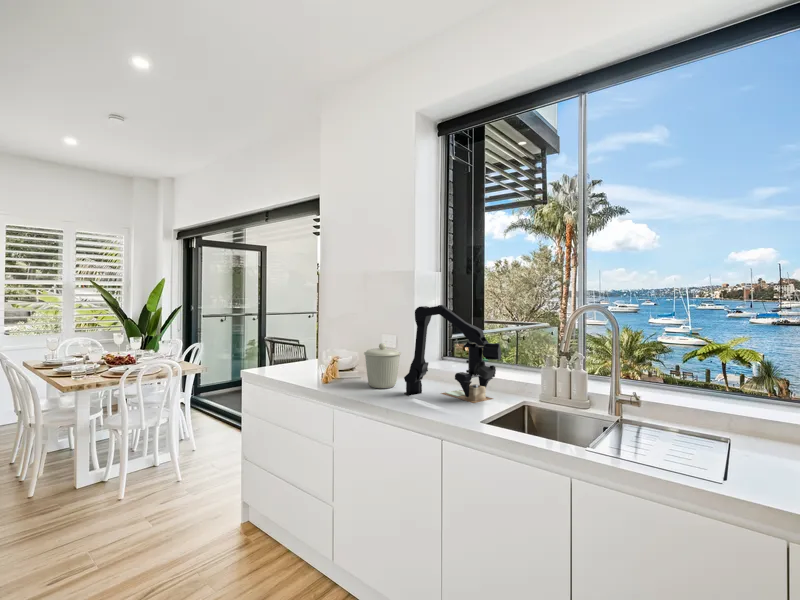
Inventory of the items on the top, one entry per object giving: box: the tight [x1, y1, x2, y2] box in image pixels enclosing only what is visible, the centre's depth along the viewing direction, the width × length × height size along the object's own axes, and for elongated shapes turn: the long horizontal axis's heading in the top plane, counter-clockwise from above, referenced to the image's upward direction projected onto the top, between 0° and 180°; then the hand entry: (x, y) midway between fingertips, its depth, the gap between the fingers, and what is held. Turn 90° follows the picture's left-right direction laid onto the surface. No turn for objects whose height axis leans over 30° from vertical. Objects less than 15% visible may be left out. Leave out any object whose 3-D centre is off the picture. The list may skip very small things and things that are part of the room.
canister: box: [363, 342, 402, 389], centre depth 205 cm, size 18×18×21 cm
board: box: [440, 389, 494, 404], centre depth 181 cm, size 12×20×2 cm, turn 37°
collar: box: [465, 384, 487, 401], centre depth 177 cm, size 6×6×5 cm
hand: (475, 395), depth 177 cm, fingers open, 9 cm apart
